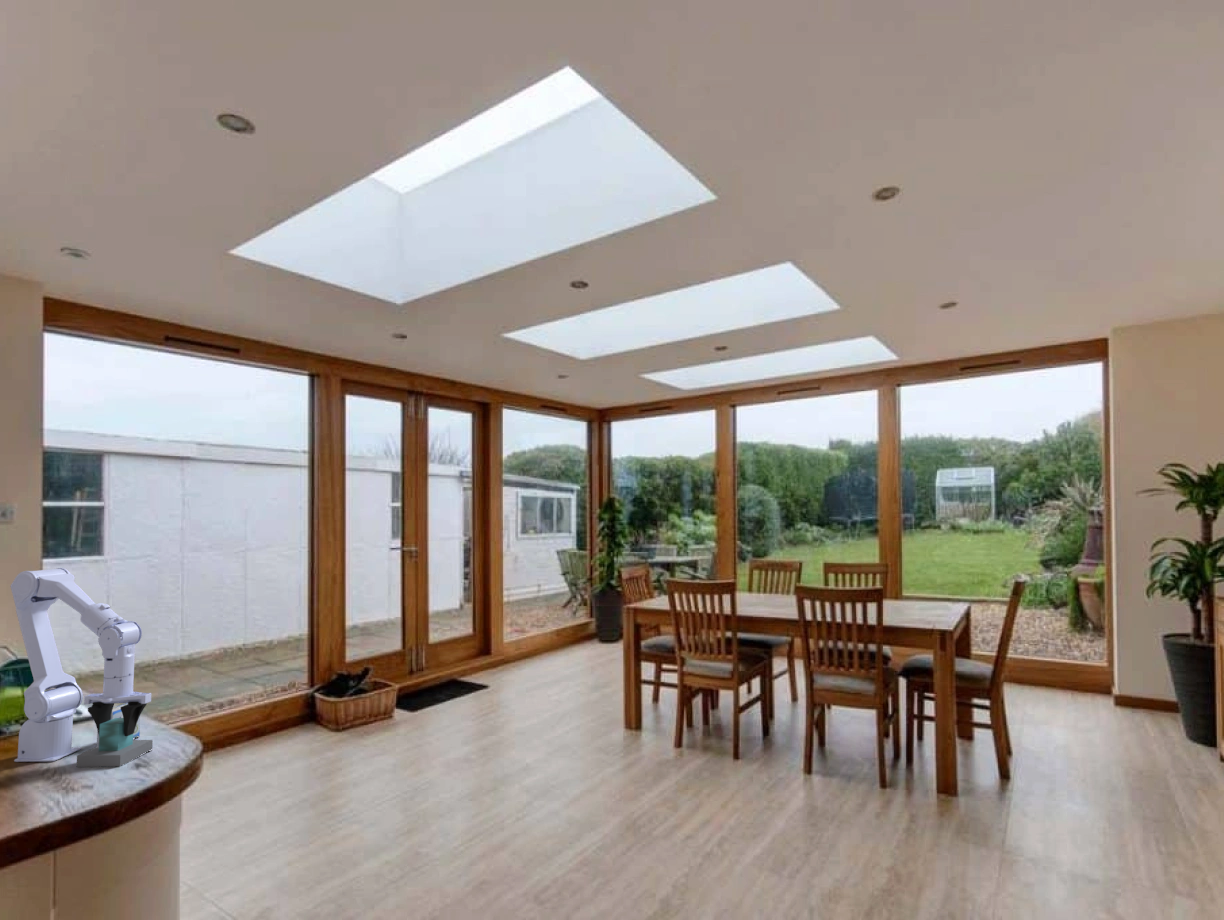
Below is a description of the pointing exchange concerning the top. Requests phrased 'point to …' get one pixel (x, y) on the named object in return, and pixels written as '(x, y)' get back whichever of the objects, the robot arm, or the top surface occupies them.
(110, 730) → the teal block
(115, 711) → the medicine box
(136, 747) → the charcoal base
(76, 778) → the top surface
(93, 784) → the top surface
